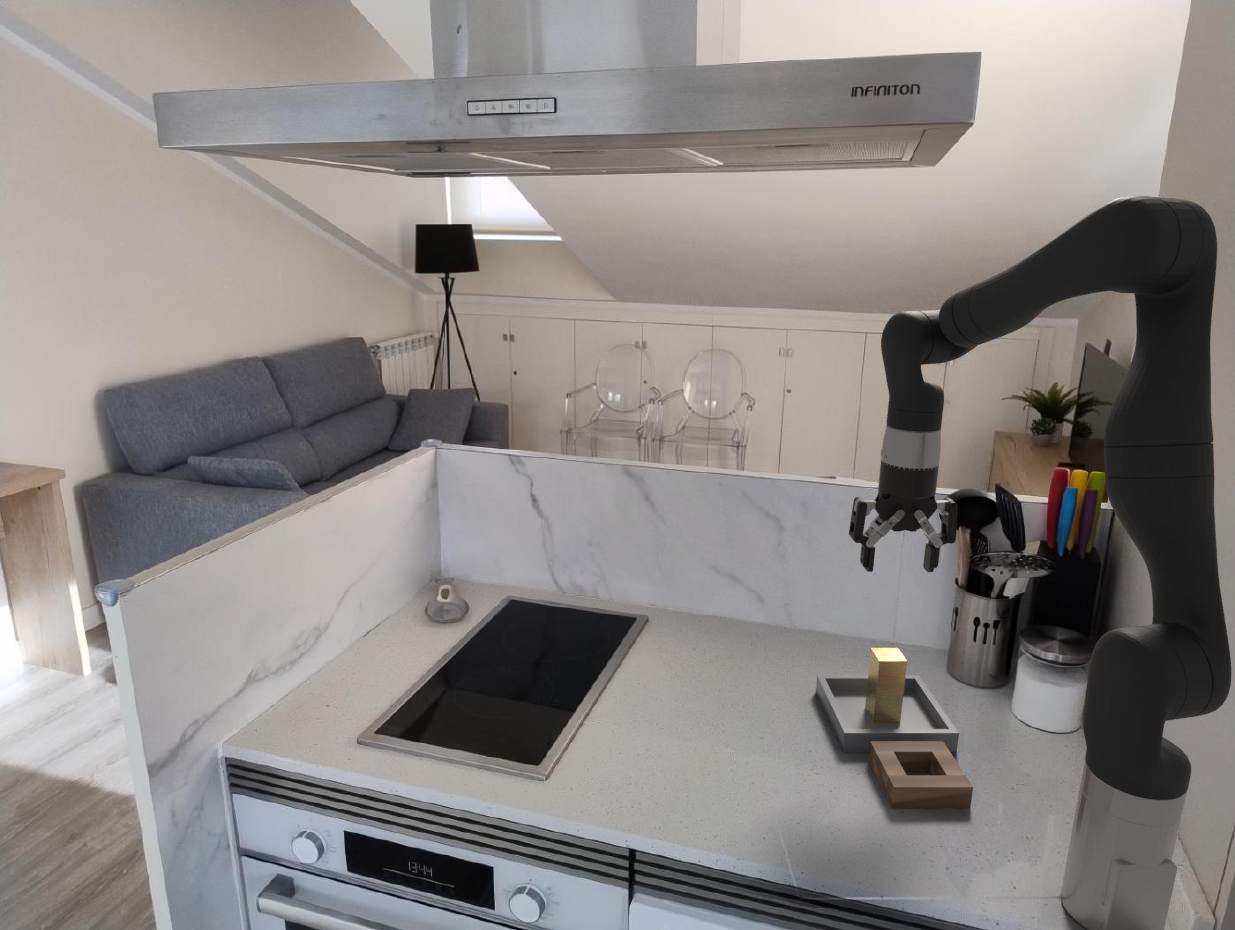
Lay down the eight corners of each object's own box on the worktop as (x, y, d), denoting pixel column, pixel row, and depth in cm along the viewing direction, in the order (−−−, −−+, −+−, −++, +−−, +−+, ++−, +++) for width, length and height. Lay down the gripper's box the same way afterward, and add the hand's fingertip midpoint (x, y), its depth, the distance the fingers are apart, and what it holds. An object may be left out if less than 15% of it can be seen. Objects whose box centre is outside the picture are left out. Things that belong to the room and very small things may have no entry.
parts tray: (956, 752, 122) (959, 733, 122) (842, 752, 122) (844, 733, 121) (916, 692, 138) (918, 675, 137) (815, 692, 137) (817, 675, 137)
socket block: (970, 807, 111) (973, 787, 110) (891, 807, 111) (894, 787, 110) (940, 760, 120) (943, 741, 120) (868, 760, 120) (870, 741, 119)
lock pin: (900, 723, 128) (907, 661, 125) (873, 723, 128) (879, 661, 125) (891, 708, 132) (897, 647, 129) (864, 708, 132) (870, 647, 129)
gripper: (866, 466, 115) (855, 580, 120) (973, 466, 116) (958, 580, 120) (850, 451, 122) (841, 560, 127) (951, 452, 123) (938, 560, 127)
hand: (898, 570), depth 123 cm, fingers open, 8 cm apart
